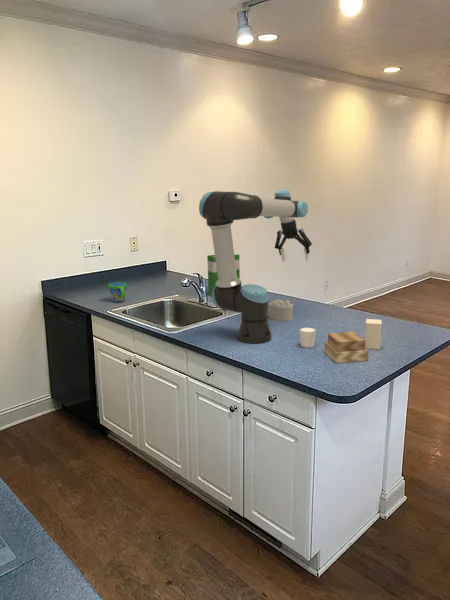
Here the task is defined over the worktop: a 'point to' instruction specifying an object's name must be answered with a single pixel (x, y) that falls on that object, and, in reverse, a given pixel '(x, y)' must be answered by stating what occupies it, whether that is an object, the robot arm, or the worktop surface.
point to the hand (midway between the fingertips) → (295, 260)
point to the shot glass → (307, 337)
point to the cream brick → (373, 334)
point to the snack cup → (117, 291)
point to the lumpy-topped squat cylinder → (281, 310)
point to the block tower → (346, 347)
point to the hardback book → (213, 271)
